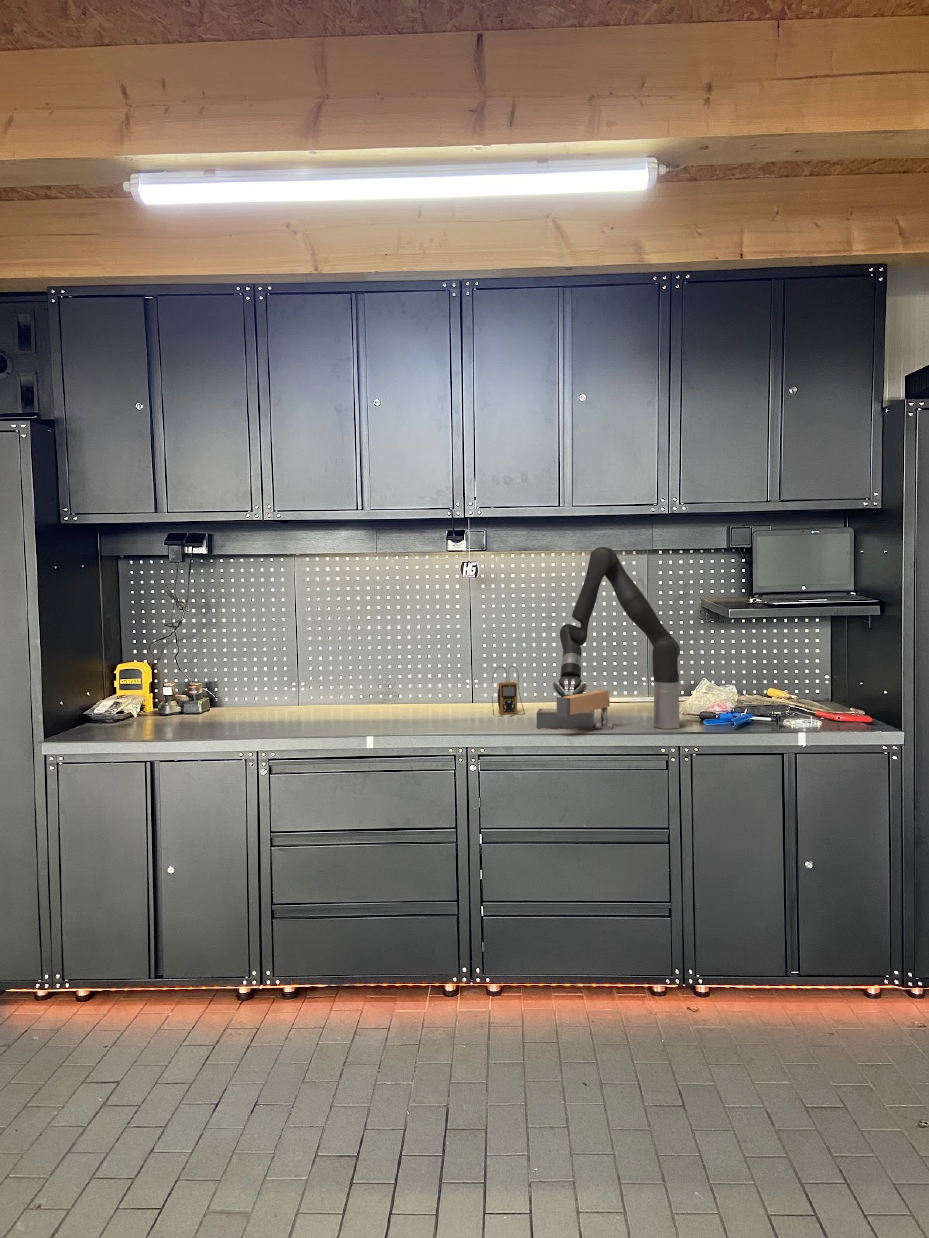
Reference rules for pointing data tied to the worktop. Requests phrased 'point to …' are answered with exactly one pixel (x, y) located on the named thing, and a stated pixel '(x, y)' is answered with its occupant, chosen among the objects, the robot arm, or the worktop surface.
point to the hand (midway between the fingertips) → (568, 705)
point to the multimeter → (507, 696)
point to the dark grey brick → (564, 720)
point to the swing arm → (582, 702)
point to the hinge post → (604, 720)
